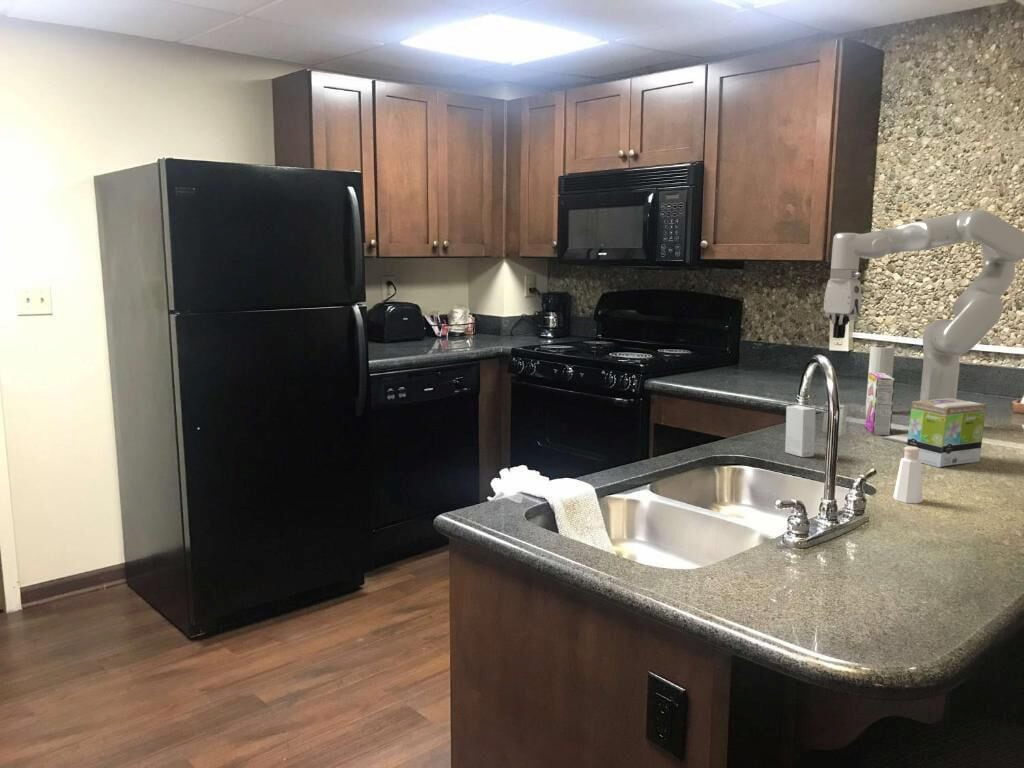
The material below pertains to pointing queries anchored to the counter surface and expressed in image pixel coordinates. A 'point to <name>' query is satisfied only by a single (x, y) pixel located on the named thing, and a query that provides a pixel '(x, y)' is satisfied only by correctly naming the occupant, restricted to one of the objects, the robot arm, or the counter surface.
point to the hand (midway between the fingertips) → (838, 337)
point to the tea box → (947, 431)
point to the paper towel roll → (881, 360)
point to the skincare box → (800, 430)
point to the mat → (898, 438)
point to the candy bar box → (879, 403)
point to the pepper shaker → (909, 477)
